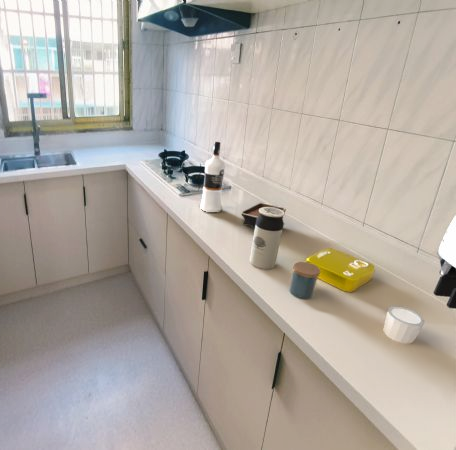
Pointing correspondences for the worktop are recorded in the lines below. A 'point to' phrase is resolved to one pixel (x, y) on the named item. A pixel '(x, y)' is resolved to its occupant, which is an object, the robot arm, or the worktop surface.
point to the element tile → (341, 269)
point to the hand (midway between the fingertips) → (449, 300)
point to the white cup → (402, 324)
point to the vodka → (213, 182)
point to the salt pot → (304, 280)
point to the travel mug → (267, 237)
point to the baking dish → (256, 213)
